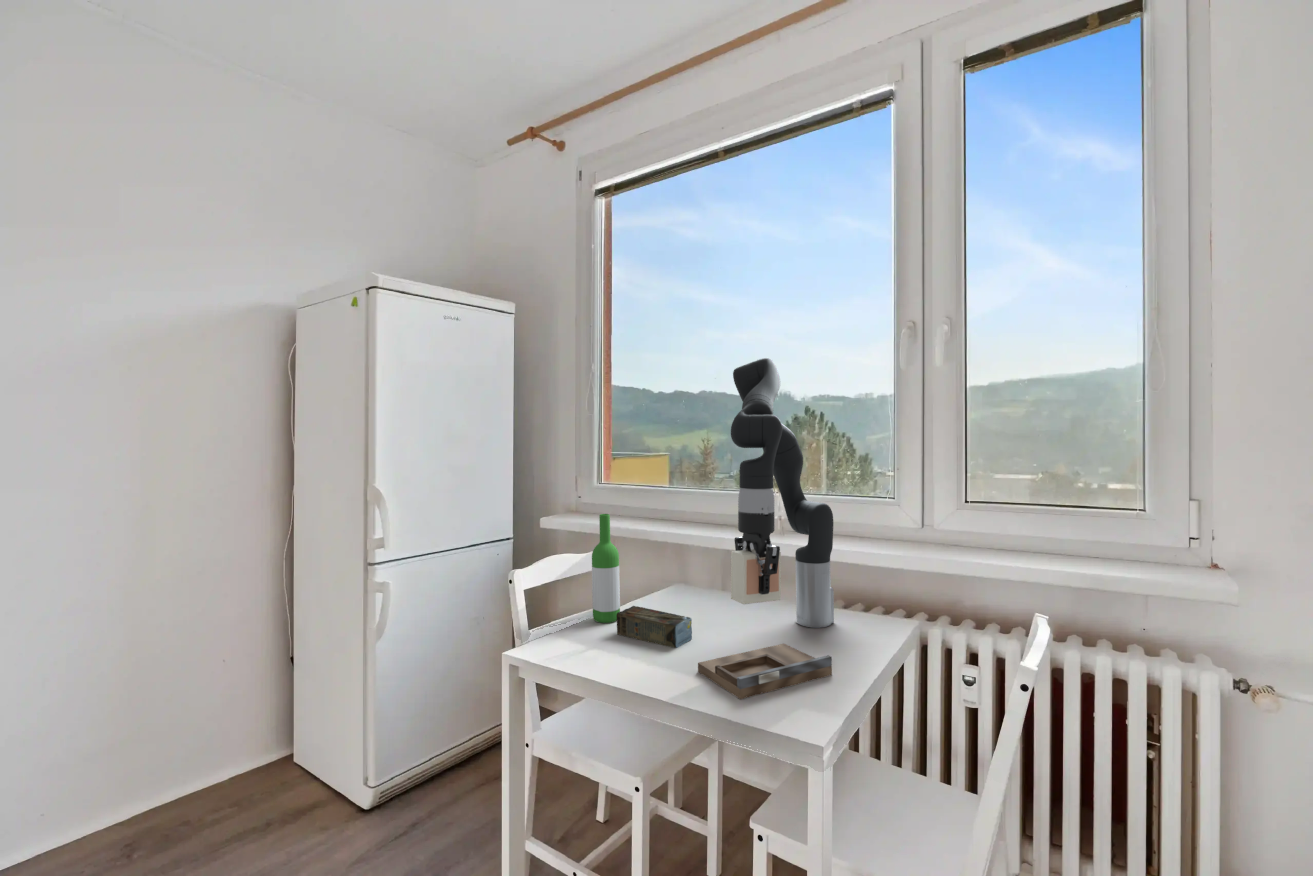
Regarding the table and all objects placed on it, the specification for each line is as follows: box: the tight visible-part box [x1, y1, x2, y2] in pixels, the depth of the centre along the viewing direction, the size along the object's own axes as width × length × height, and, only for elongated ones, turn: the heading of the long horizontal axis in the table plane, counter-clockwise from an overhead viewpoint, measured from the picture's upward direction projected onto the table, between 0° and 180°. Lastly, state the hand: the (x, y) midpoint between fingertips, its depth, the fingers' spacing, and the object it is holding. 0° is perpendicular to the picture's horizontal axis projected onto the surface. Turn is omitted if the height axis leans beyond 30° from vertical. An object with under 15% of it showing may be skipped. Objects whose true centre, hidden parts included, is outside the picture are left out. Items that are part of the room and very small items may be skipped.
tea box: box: [730, 550, 782, 605], centre depth 127 cm, size 5×9×10 cm, turn 114°
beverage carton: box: [616, 605, 693, 649], centre depth 157 cm, size 8×19×7 cm, turn 55°
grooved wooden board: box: [697, 643, 833, 700], centre depth 132 cm, size 24×16×4 cm
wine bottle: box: [591, 513, 621, 624], centre depth 172 cm, size 8×8×30 cm
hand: (756, 590), depth 127 cm, fingers closed on tea box, 5 cm apart
